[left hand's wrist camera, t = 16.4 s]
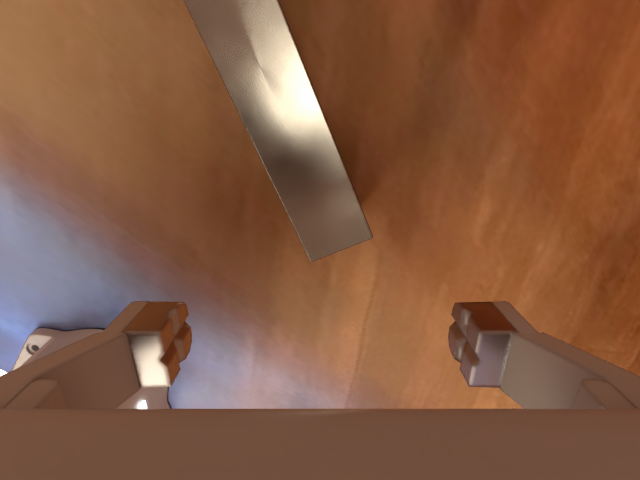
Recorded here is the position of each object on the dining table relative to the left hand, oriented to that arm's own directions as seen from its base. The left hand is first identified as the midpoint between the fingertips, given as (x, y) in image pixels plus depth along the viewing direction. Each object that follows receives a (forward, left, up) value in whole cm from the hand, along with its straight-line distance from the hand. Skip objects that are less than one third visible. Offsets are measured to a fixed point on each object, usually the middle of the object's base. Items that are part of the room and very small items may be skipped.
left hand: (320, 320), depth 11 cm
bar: (+3, +9, -23) cm, 25 cm away
